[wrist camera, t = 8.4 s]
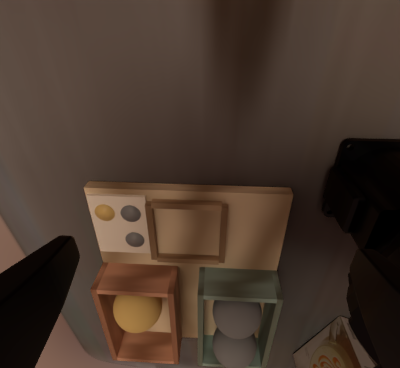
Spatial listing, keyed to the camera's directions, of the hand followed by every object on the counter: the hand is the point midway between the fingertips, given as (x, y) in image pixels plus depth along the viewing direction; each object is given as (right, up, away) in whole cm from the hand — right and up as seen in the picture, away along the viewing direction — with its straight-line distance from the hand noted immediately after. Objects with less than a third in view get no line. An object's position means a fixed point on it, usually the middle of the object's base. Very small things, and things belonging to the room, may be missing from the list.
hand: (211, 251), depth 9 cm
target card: (-7, -1, +15) cm, 17 cm away
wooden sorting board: (-1, -6, +18) cm, 19 cm away
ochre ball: (-6, -8, +18) cm, 21 cm away
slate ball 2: (+3, -13, +21) cm, 24 cm away
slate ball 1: (+3, -8, +18) cm, 20 cm away
